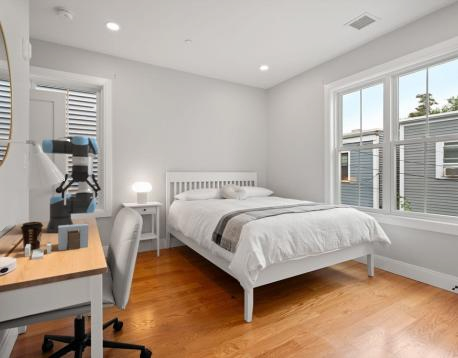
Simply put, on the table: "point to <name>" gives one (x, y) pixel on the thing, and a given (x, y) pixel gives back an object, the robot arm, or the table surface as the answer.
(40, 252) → the cradle
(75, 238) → the walnut bar
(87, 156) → the robot arm
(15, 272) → the table surface
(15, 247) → the table surface
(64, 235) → the bore block
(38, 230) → the coffee cup
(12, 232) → the table surface
